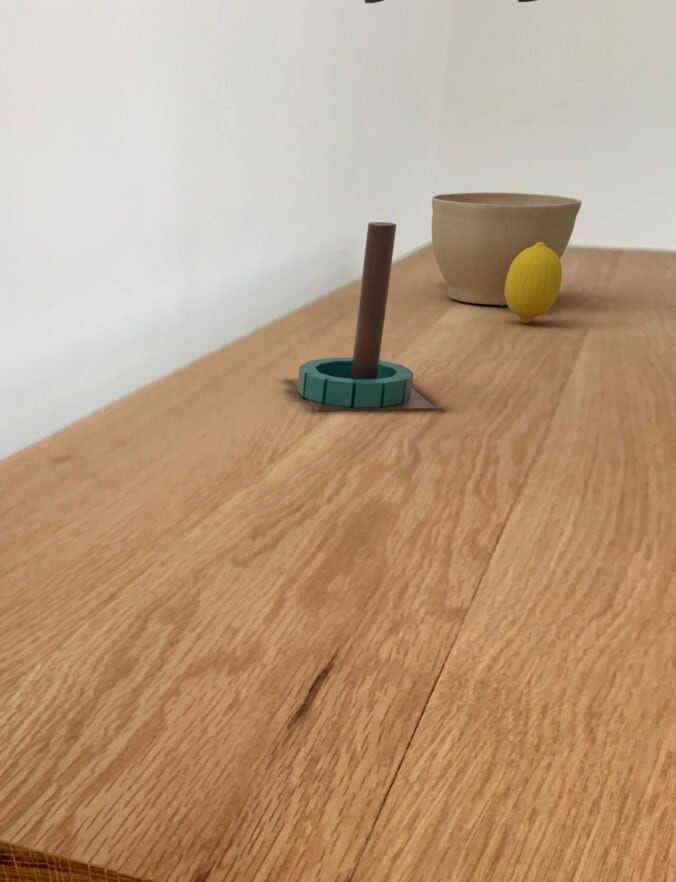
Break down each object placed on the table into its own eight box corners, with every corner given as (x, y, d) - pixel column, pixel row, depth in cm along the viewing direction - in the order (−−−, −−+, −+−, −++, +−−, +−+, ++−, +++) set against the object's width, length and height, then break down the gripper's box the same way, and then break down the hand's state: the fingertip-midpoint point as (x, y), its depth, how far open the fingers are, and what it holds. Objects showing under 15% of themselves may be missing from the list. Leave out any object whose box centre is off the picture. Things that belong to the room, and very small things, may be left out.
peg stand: (399, 397, 91) (424, 216, 84) (433, 428, 83) (464, 231, 76) (291, 398, 90) (307, 216, 83) (315, 429, 82) (335, 231, 75)
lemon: (552, 330, 115) (569, 246, 111) (497, 326, 117) (512, 243, 112) (552, 320, 120) (568, 240, 115) (499, 317, 121) (513, 237, 117)
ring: (391, 380, 89) (394, 357, 89) (422, 407, 82) (426, 382, 81) (289, 380, 89) (291, 357, 88) (311, 408, 82) (313, 383, 81)
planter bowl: (537, 289, 137) (556, 191, 131) (579, 314, 123) (602, 206, 117) (406, 287, 137) (420, 189, 132) (434, 311, 123) (450, 203, 118)
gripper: (624, -356, 63) (565, 4, 72) (324, -358, 62) (302, 5, 71) (689, -405, 57) (616, -4, 65) (356, -408, 56) (327, -2, 65)
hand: (452, 1), depth 68 cm, fingers open, 9 cm apart
